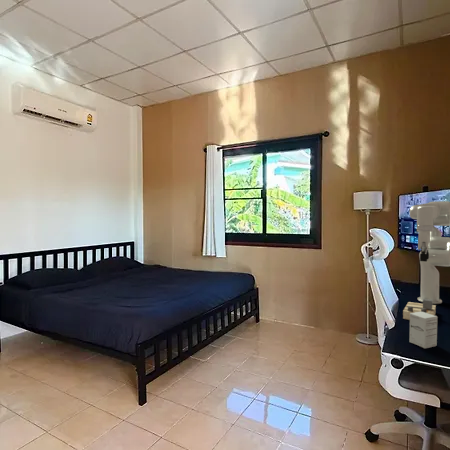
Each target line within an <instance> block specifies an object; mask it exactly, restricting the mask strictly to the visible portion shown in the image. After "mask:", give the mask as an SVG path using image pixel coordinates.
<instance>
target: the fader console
mask: <svg viewBox="0 0 450 450" xmlns="http://www.w3.org/2000/svg"><path fill="white" fill-rule="evenodd" d="M436 306H437V304H432V310H430V309H424V308H423V303H422V302H421V303H419V302H411V301H408V302H407V304H406V305H405V307H404V308H403V310H402V319H404V320H408V321H410V313H415V312H421V311H422V312H425V313H428V314H431V315H434V316H436V309H437V307H436Z"/></svg>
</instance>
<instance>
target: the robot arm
mask: <svg viewBox="0 0 450 450" xmlns="http://www.w3.org/2000/svg"><path fill="white" fill-rule="evenodd" d="M409 217H410V218H411V219H413V220H416V232H418V239H417V240H418V241H417V245H418V246H417V250H419V251H420V252H419V254H418V257H419V264H420V296H419V297H417V300H418V301H419V302H421V303H423V299H430V300H432V305H439V304H442V303H443V300H442V299H441V298H440V272H439V270H438V269H437V268H436V266H438V267H450V237H449V236H448V237H447V236H442V232H441V231H440V230H439V229H438V228H437V227H439V226H440V227H450V201H449V200H446V201H445V200H443V201H429V202H428V203H421V204H414V205H412V206H411V207H410V209H409Z"/></svg>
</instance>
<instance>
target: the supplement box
mask: <svg viewBox="0 0 450 450" xmlns="http://www.w3.org/2000/svg"><path fill="white" fill-rule="evenodd" d="M408 337H409V339H408V340H409V343H411V344H414V345H417V346H419V347H420V348H423V349H429V348H432V347H433V348H434V347H436V346H437V343H438V341H437V340H438V316H437V315H435V316H434V315H431V314H428V313H425V312H422V311H421V312H415V313H410V320H409V336H408Z"/></svg>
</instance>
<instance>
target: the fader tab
mask: <svg viewBox="0 0 450 450" xmlns="http://www.w3.org/2000/svg"><path fill="white" fill-rule="evenodd" d="M422 304H423V308H424V309H430V310H432V305H433V304H432V300H430V299H423V302H422Z"/></svg>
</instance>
